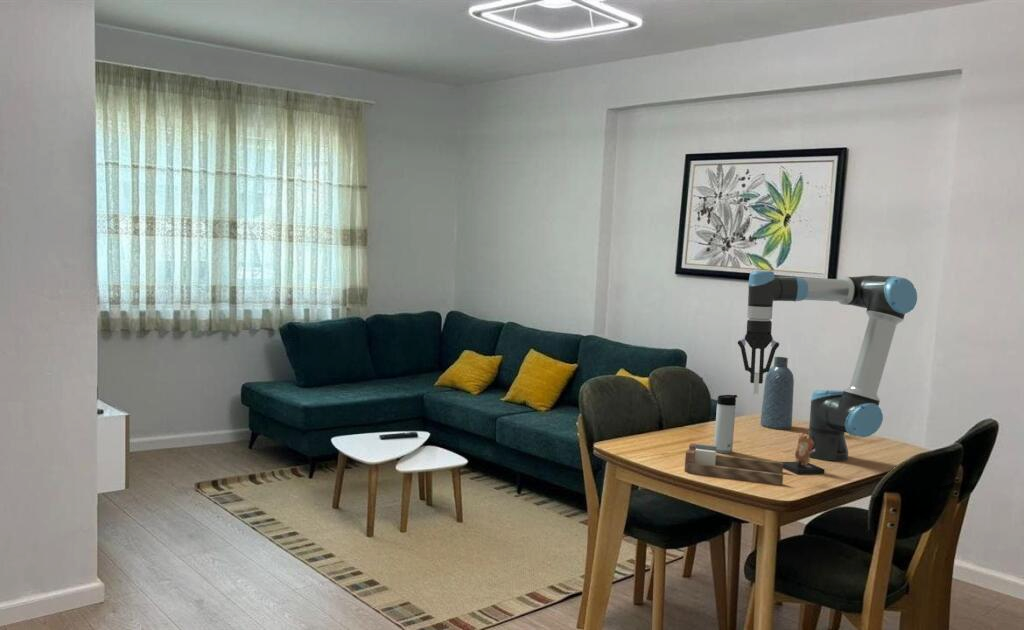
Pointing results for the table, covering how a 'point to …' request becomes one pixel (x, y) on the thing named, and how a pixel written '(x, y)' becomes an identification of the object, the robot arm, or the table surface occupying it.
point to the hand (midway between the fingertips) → (755, 393)
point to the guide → (735, 472)
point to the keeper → (705, 454)
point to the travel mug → (725, 423)
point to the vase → (778, 396)
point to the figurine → (803, 458)
